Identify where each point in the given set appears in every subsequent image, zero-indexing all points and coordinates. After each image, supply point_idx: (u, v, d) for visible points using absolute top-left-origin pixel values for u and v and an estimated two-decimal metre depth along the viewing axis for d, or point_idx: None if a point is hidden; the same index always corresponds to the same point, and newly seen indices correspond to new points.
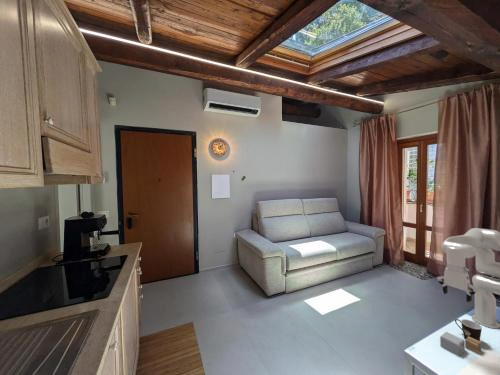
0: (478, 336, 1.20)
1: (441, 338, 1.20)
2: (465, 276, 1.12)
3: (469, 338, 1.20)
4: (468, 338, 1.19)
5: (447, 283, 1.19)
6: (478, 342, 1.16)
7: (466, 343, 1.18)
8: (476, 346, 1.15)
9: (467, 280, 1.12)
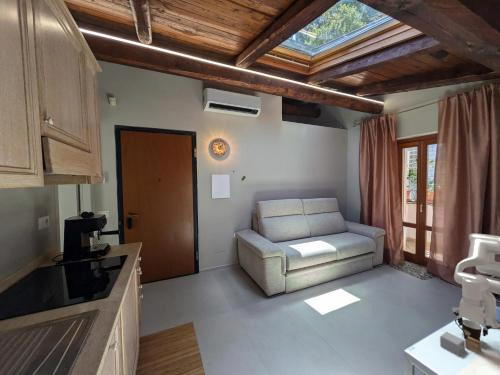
0: (478, 336, 1.20)
1: (441, 338, 1.20)
2: (481, 310, 1.12)
3: (469, 338, 1.20)
4: (468, 338, 1.19)
5: (463, 315, 1.19)
6: (478, 342, 1.16)
7: (466, 343, 1.18)
8: (476, 346, 1.15)
9: (483, 314, 1.12)
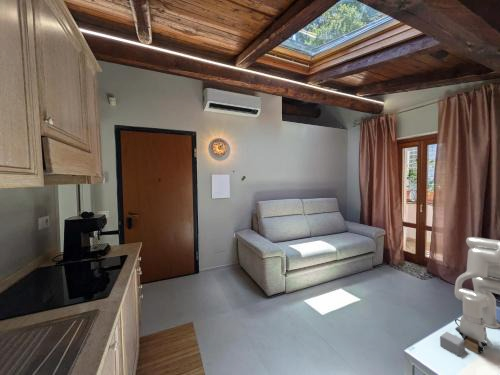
0: None
1: (441, 338, 1.20)
2: (482, 328, 1.13)
3: (469, 337, 1.20)
4: (468, 338, 1.19)
5: (463, 332, 1.19)
6: None
7: (466, 343, 1.18)
8: (476, 346, 1.15)
9: (484, 332, 1.13)
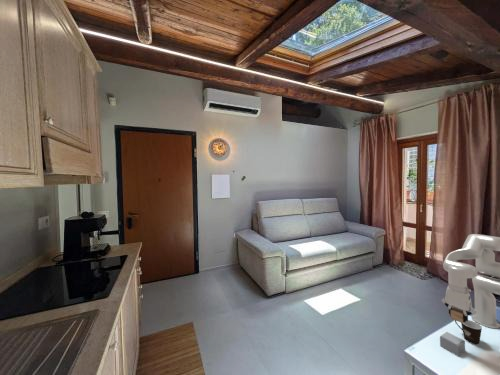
0: (478, 336, 1.20)
1: (441, 338, 1.20)
2: (467, 296, 1.13)
3: (454, 308, 1.20)
4: (453, 308, 1.20)
5: (449, 302, 1.20)
6: None
7: (451, 313, 1.18)
8: (461, 315, 1.15)
9: (469, 300, 1.13)
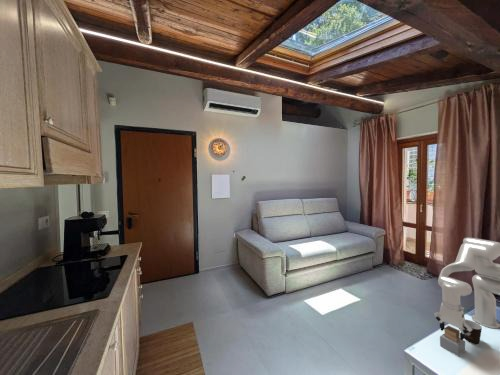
0: (478, 336, 1.20)
1: (441, 338, 1.20)
2: (460, 314, 1.14)
3: (448, 326, 1.21)
4: (447, 327, 1.21)
5: (443, 319, 1.20)
6: (457, 330, 1.17)
7: (445, 332, 1.19)
8: (455, 334, 1.16)
9: (462, 318, 1.14)
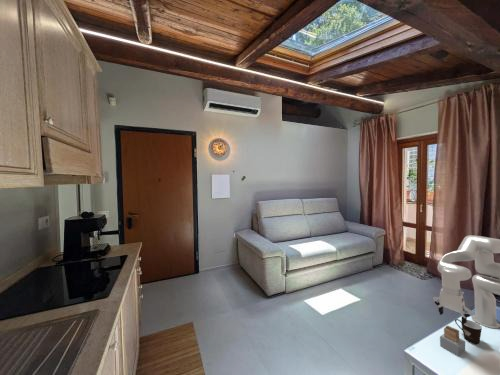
0: (478, 336, 1.20)
1: (441, 338, 1.20)
2: (460, 299, 1.14)
3: (448, 326, 1.21)
4: (447, 327, 1.21)
5: (443, 304, 1.20)
6: (456, 330, 1.17)
7: (445, 332, 1.19)
8: (454, 334, 1.16)
9: (462, 303, 1.14)
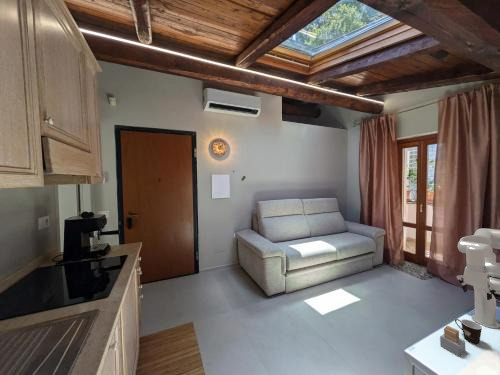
0: (478, 336, 1.20)
1: (441, 338, 1.20)
2: (485, 275, 1.16)
3: (448, 327, 1.21)
4: (447, 327, 1.20)
5: (467, 282, 1.22)
6: (456, 331, 1.17)
7: (445, 332, 1.19)
8: (454, 334, 1.16)
9: (487, 279, 1.16)
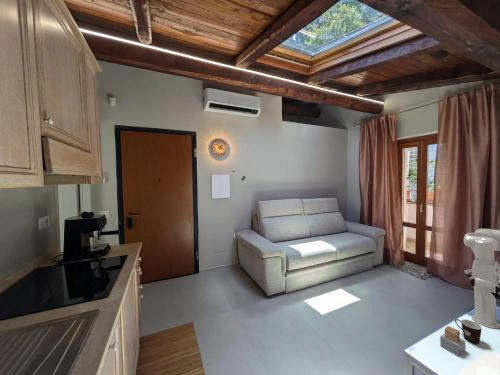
0: (478, 336, 1.20)
1: (441, 338, 1.20)
2: (494, 269, 1.16)
3: (448, 327, 1.21)
4: (447, 327, 1.20)
5: (475, 276, 1.23)
6: (457, 331, 1.17)
7: (445, 332, 1.19)
8: (455, 335, 1.16)
9: (496, 272, 1.16)
